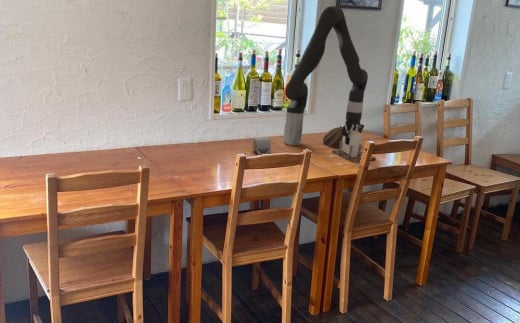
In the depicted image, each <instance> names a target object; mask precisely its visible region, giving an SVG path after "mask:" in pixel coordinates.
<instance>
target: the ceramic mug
mask: <svg viewBox="0 0 520 323" xmlns="http://www.w3.org/2000/svg"><path fill="white" fill-rule="evenodd" d="M271 147H272V143H271V138H270V137H269V136H262V137H255V138H253V139H252V149H253V152H254V153H257V154H258V155H260V156H262V155H261V154H268V155H269V153H270V152H271V150H272V148H271Z"/></svg>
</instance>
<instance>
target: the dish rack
mask: <svg viewBox="0 0 520 323" xmlns="http://www.w3.org/2000/svg"><path fill="white" fill-rule="evenodd" d="M342 142H343V141H340V147H339V149H334V150H333V149H332V150H331V153H332V154H334V155H336V156H338V157H340V158H342V159H345V160H347V161H349V162H351V163H354V164H355V163H361V162H360V160H361V156H362V153H364V151H362V144H360V145H359V149H358V153H357V157H351V154H352V145H350V150H349V155H348V154H347V153H346V152H344V151H343V150H342ZM371 156H372V155H371ZM374 161H377V157H375V156H372V158H371V161H370V162H374Z"/></svg>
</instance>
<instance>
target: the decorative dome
mask: <svg viewBox="0 0 520 323" xmlns="http://www.w3.org/2000/svg"><path fill="white" fill-rule="evenodd" d="M342 138H343V135H342V131H341V127H340V126H339V127H334V128H332V129H330V130H329V131H328V132H327V134H325V135H324V137H323V139H322V142H323V143H322V145H324V146H327V147H328V148H331V149H332V148H333V149H336V150H339V147H340V141H342Z"/></svg>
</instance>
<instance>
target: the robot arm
mask: <svg viewBox="0 0 520 323" xmlns="http://www.w3.org/2000/svg"><path fill="white" fill-rule="evenodd" d="M347 24H348V23H347V21H346V17H345V13H344V10H343V9H342V8H341V7H340V6H337V5H331V6H330V5H329V6H326V7H324V8H323V9H322V10H321V12H320V14H319V16H318V20H317V22H316V26H315V29H314V31H313V33H312V35H311V36H310V39H309V41H308V43H307V45H306V48H305V49H304V52H303V53H302V56H301V58H300V61H299V62H298V65H297V67H296V68H295V70H294V73H292V76H291V77H290V79H289V81H288V82H287V85H286V86H285V90H284V92H285V97H286V98H287V99H288V100H291V102H290V103H289V104H288V105H287V107H286V115H285V124H284V129H283V130H284V132H283V143H284V144H286V145H289V146H300V145H301V144H302V137H303V127H304V126H303V125H304V118H305V117H304V115H305V109H306V107H307V101H308V94H309V87H308V85H307V84H306V82H305V81H306V79H307V78H308V77H309V76H310V75H311V74H312V73H313V71H315V69H317V67H319V64H320V62H321V61H322V58H323V56H324V54H325V50H326V44H327V38H328V37H329V34H330V33H331V30H332V29H333V30H334V32H335V34H336V37H337V40H338V48H339V52H340V55H341V58H342V60H343V62H344V64H345V68H346V72H347V75H348V78H349V80H350V82H351V84H352V86H351V89H350V90H349V94H348V102H347V106H346V112H345V122H344V124H340V125H339V127H341V131H342V135H343V136H345V137H346V138H345V144H347V145H349V141H350V135H351V132H352V130H355V131H358V132H359V133H361V134H362V132H363V130H364V128H365V125H364V124H362V123H361V120H362V115H363V109H364V108H363V107H364V105H363V104H364V96H365V90H366V89H367V88H366V87H367V84H368V77H369V74H368V72H367V71H366V70H365V69H362V68H361V65H360V57H359V55H358V53H357V50H356V48H355V46H354V43H353V40H352V38H351V35H350V32H349V28H348V25H347ZM346 127H347V128H346ZM348 130H349V131H348Z"/></svg>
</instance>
